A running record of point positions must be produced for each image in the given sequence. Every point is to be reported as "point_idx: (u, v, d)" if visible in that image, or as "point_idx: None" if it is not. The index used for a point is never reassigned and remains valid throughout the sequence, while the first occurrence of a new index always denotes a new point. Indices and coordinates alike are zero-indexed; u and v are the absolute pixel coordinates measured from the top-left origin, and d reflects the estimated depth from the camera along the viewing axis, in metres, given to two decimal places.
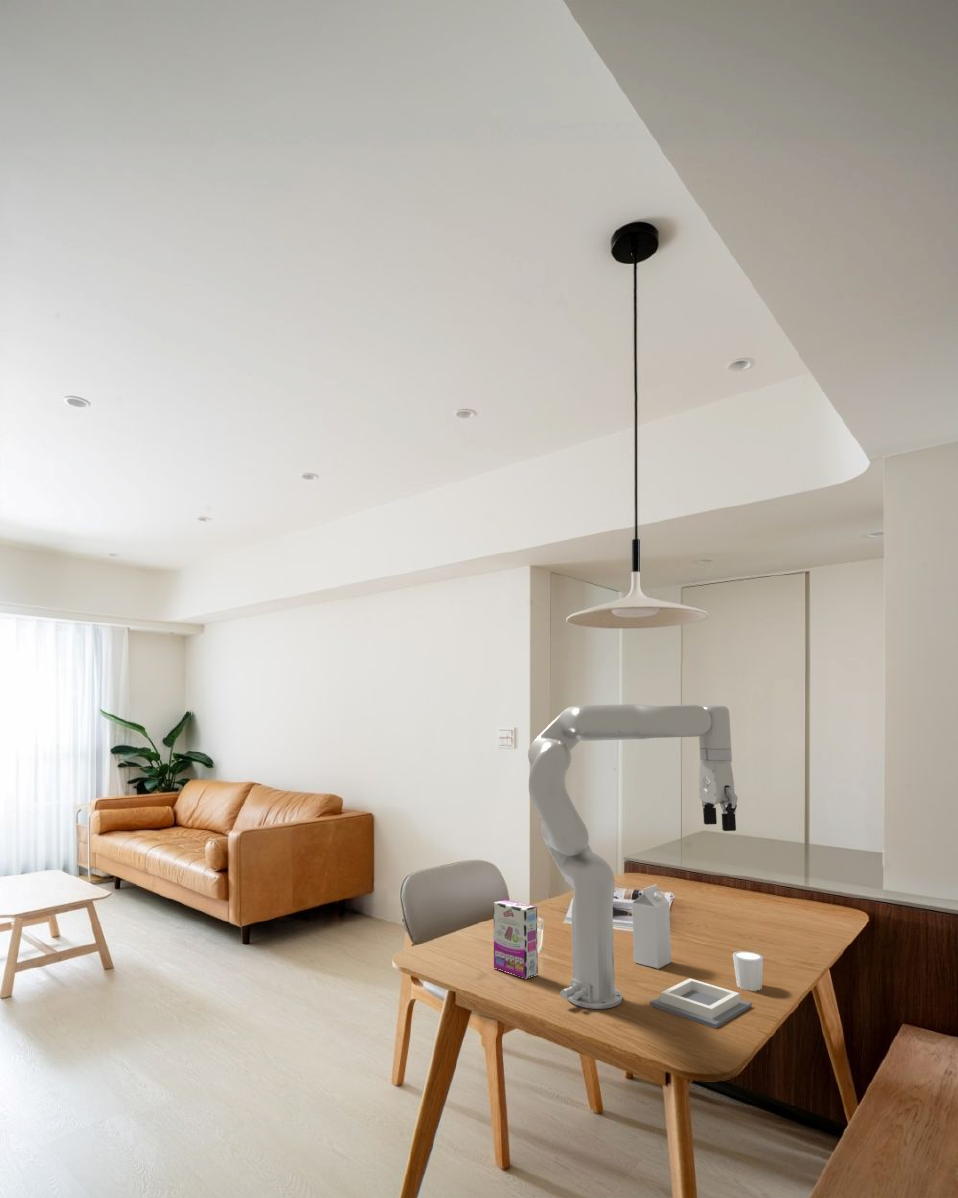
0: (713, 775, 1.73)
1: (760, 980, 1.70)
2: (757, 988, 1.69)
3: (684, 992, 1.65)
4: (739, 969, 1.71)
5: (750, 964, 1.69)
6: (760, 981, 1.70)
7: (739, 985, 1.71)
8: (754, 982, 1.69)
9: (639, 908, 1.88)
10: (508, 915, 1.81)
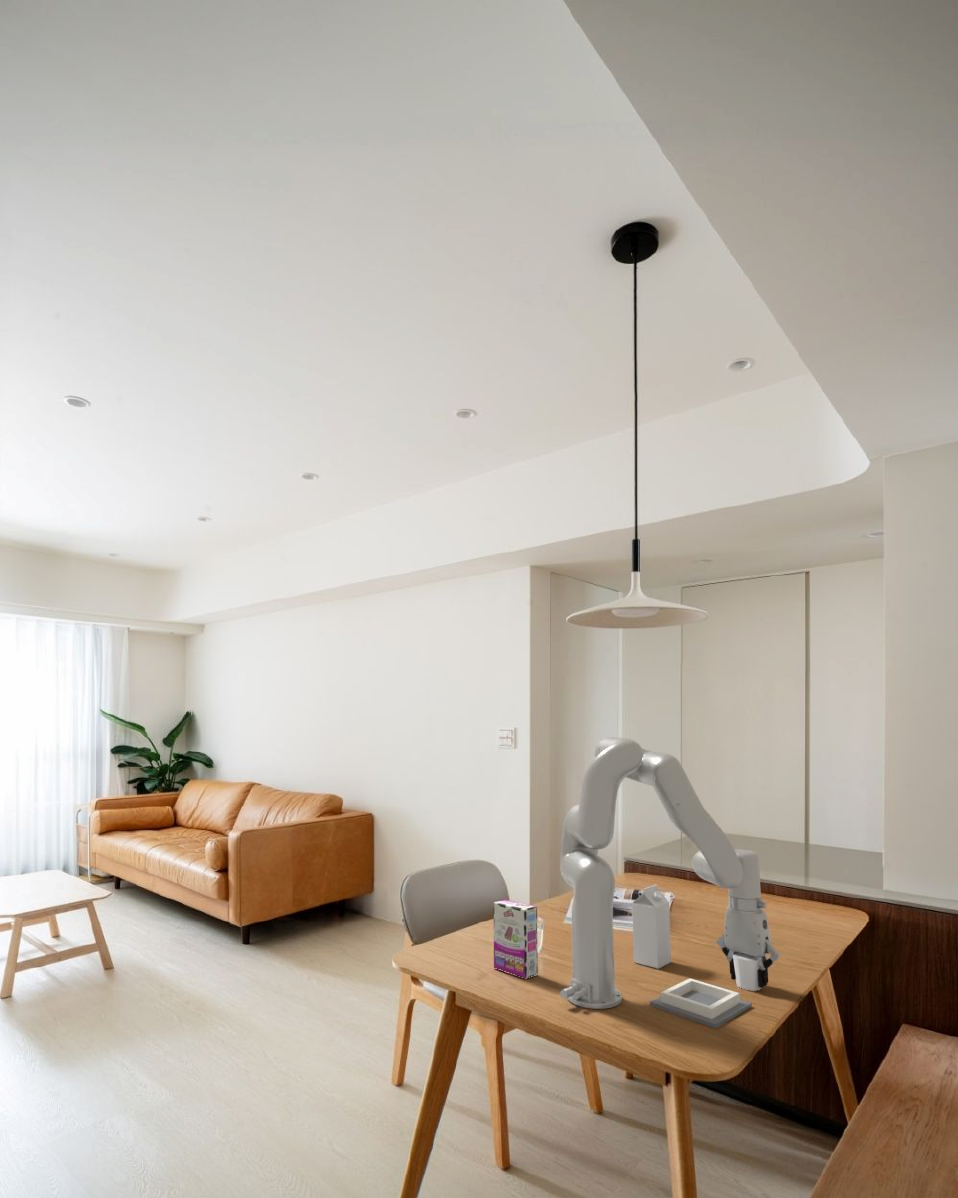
0: None
1: None
2: (757, 988, 1.69)
3: (684, 992, 1.65)
4: (739, 969, 1.71)
5: (750, 964, 1.69)
6: None
7: (739, 985, 1.71)
8: (754, 982, 1.69)
9: (639, 908, 1.88)
10: (509, 915, 1.81)
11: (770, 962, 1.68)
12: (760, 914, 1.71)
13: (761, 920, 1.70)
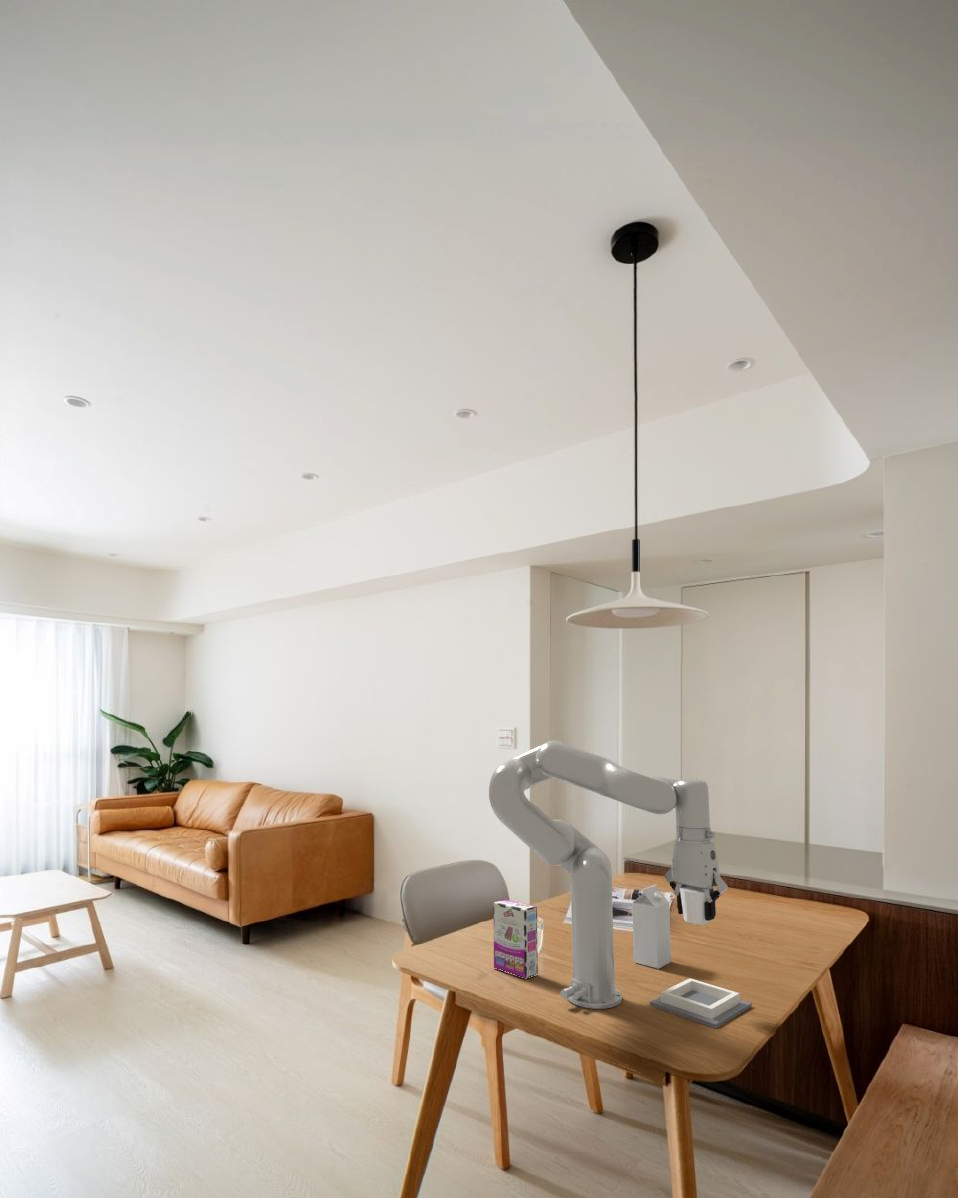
0: None
1: None
2: (704, 921, 1.60)
3: (684, 992, 1.65)
4: (686, 902, 1.62)
5: (697, 896, 1.61)
6: None
7: (686, 919, 1.62)
8: (701, 915, 1.60)
9: (639, 907, 1.88)
10: (508, 915, 1.81)
11: (717, 893, 1.59)
12: (708, 844, 1.62)
13: (709, 850, 1.61)
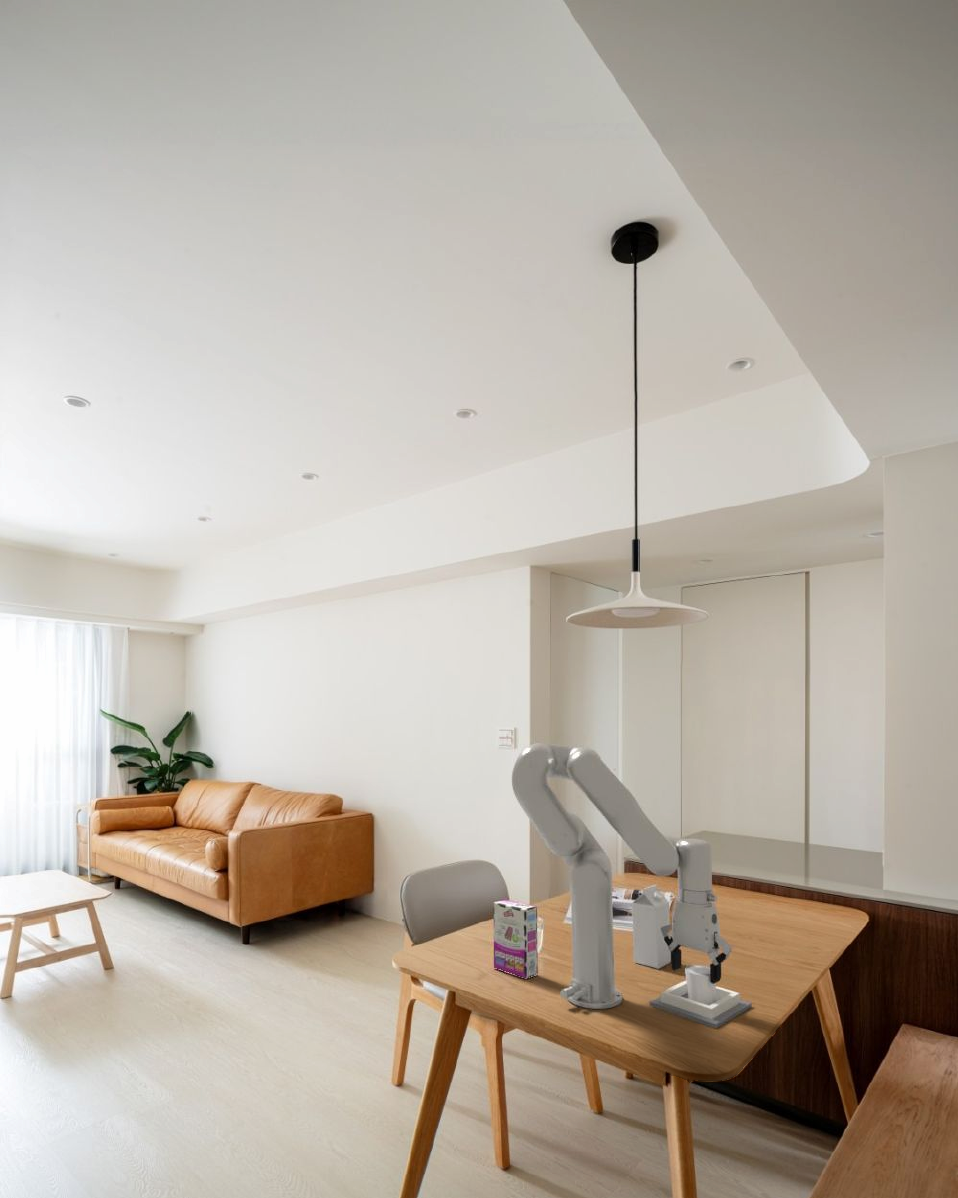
0: None
1: (713, 996, 1.58)
2: None
3: (684, 992, 1.65)
4: (691, 984, 1.59)
5: (703, 979, 1.58)
6: (713, 997, 1.58)
7: None
8: (707, 998, 1.57)
9: (639, 908, 1.88)
10: (508, 915, 1.81)
11: (723, 956, 1.56)
12: (709, 908, 1.60)
13: (710, 914, 1.59)
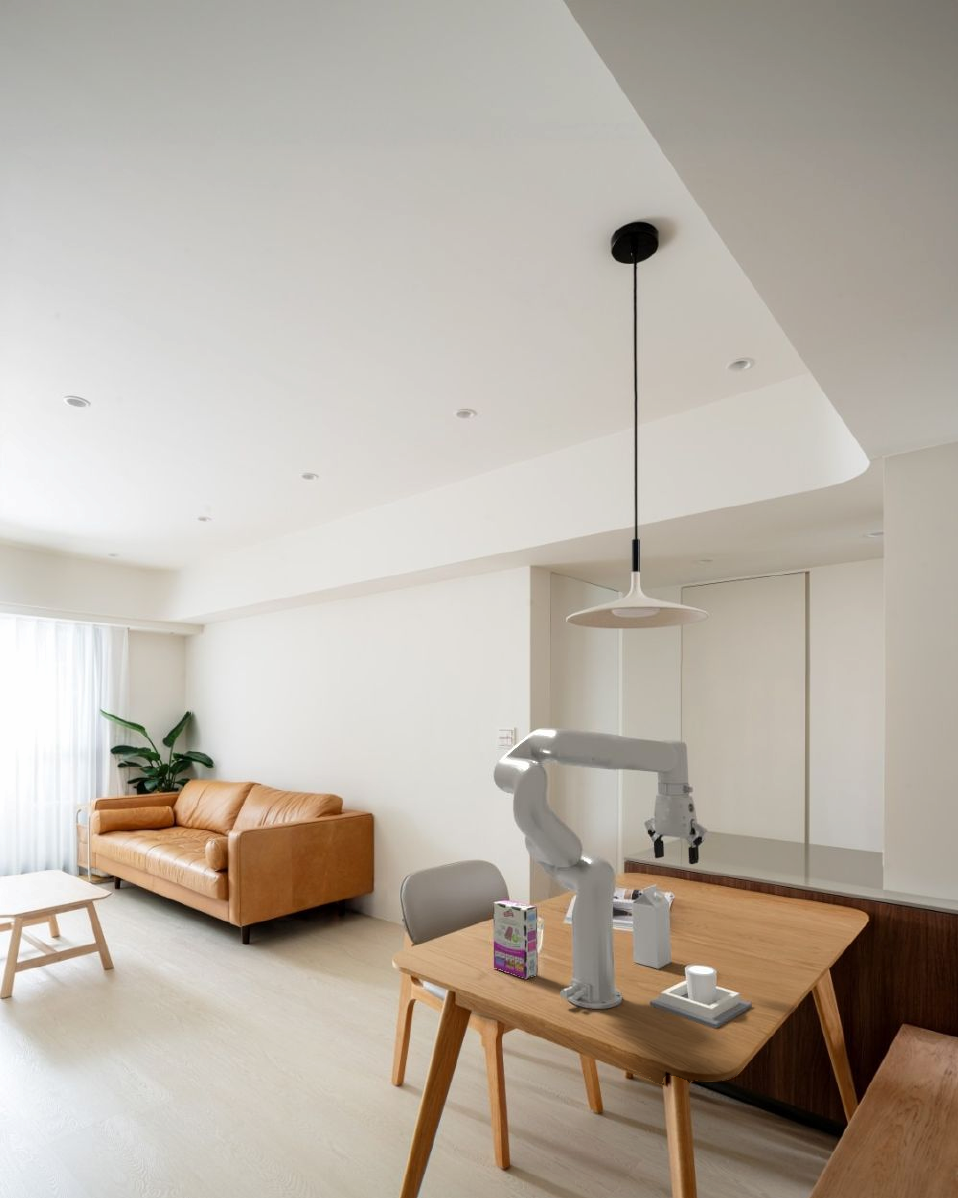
0: None
1: (713, 996, 1.58)
2: None
3: (684, 992, 1.65)
4: (691, 985, 1.59)
5: (703, 979, 1.58)
6: (713, 997, 1.58)
7: None
8: (707, 998, 1.57)
9: (639, 907, 1.88)
10: (508, 915, 1.81)
11: (700, 839, 1.74)
12: (686, 798, 1.78)
13: (687, 803, 1.77)
